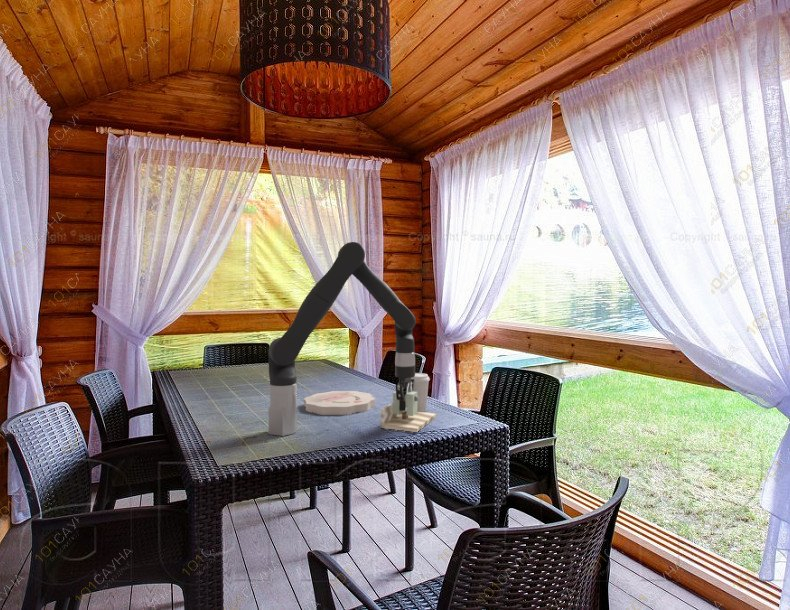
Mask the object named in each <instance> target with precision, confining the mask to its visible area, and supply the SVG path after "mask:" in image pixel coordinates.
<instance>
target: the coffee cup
mask: <svg viewBox="0 0 790 610" xmlns="http://www.w3.org/2000/svg"><path fill="white" fill-rule="evenodd" d="M411 379H414V391H413V392H417V396H418V398H419V399H418V401H417V412H424V413H426V412H427V404H428V392H429V381H430V380H431V378H430V376H428V374H427V373H423V372H422V373H421V372H415V376H414V377H412V378H411ZM409 389H410V388H409ZM425 411H426V412H425Z"/></svg>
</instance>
